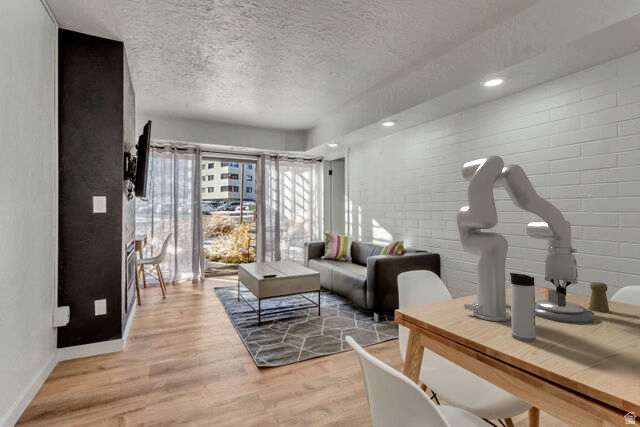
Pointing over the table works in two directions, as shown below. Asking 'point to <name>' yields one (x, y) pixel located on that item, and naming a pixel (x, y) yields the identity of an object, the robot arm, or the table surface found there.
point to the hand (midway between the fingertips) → (561, 296)
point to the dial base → (566, 316)
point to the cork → (599, 297)
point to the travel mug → (523, 307)
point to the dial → (558, 303)
